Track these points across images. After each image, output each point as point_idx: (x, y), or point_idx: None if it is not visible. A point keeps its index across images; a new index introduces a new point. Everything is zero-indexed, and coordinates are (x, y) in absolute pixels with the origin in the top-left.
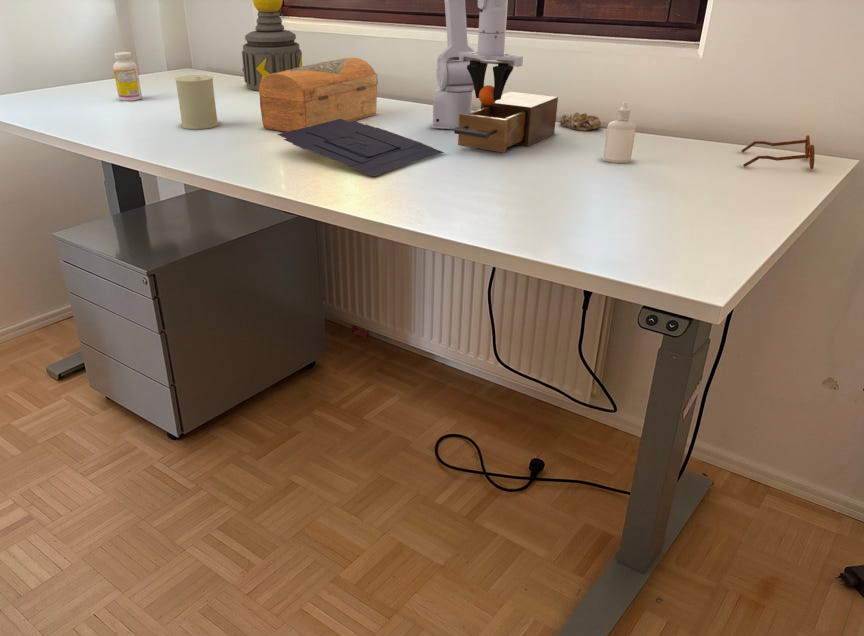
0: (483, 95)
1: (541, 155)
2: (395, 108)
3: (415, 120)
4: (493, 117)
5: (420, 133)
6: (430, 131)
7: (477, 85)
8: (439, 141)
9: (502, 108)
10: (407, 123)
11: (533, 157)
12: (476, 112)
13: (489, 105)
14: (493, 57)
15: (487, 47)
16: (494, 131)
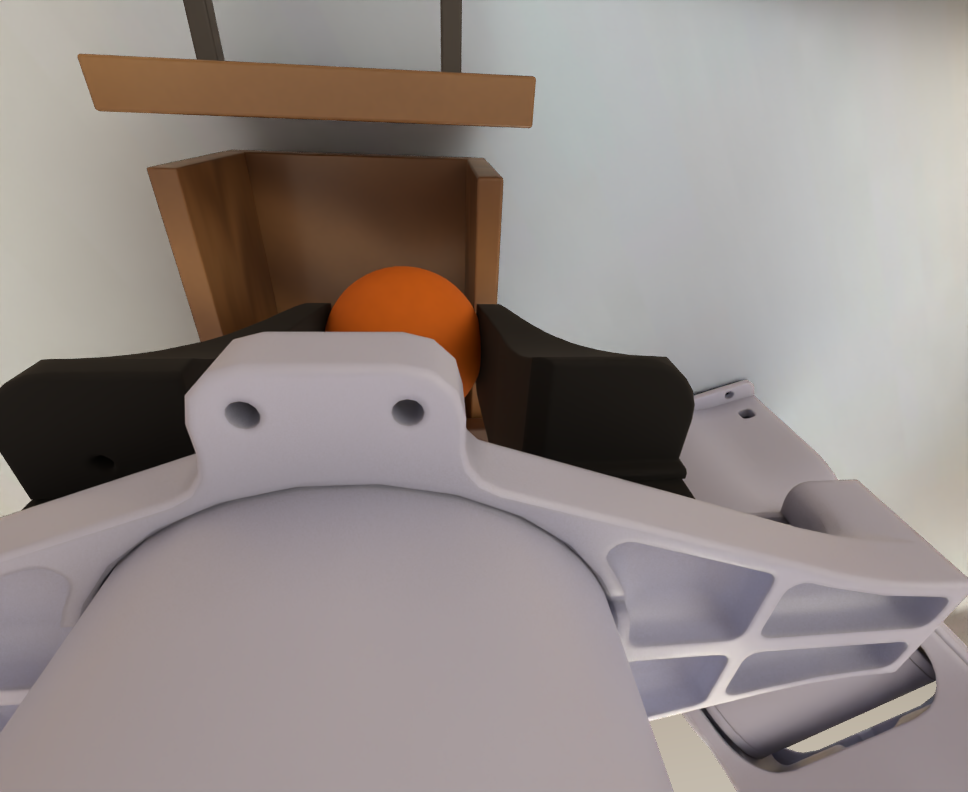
0: (404, 274)
1: (86, 223)
2: (936, 541)
3: (840, 451)
4: (233, 109)
5: (779, 287)
6: (744, 340)
7: (493, 331)
8: (651, 197)
9: None
10: (865, 401)
11: (80, 159)
12: (474, 263)
13: (468, 419)
14: (111, 509)
15: (171, 728)
16: (187, 17)
